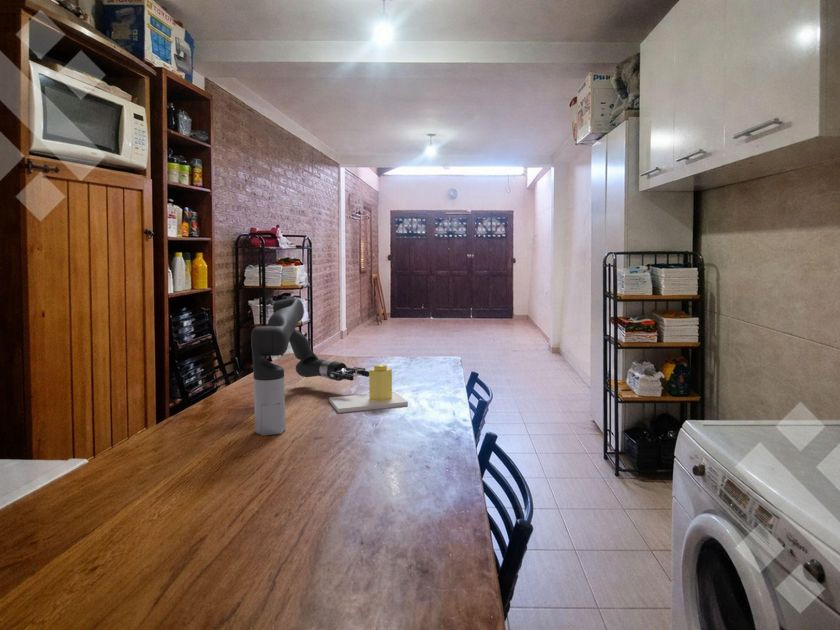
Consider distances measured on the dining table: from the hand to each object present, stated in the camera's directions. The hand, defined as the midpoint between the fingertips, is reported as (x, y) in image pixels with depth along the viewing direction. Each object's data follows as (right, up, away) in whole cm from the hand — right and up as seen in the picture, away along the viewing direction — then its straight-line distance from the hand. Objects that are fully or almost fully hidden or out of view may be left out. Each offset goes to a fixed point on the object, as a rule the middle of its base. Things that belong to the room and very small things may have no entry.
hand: (361, 376), depth 204 cm
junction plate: (+3, -9, -8) cm, 13 cm away
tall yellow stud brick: (+8, -8, -6) cm, 13 cm away
